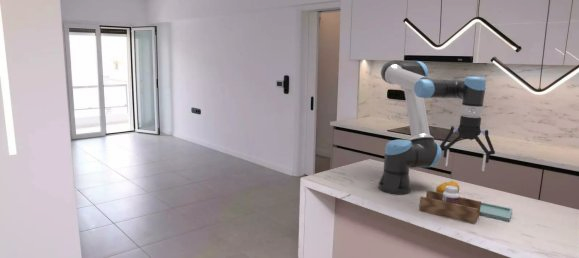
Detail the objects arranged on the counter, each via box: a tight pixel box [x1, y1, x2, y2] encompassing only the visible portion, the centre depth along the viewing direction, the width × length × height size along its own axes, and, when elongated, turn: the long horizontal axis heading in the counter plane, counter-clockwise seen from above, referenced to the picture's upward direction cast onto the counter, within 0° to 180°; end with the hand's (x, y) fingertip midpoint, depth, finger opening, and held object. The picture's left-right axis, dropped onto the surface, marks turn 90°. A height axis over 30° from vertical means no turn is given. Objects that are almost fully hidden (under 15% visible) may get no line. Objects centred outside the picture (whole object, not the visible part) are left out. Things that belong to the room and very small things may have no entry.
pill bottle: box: [442, 186, 460, 204], centre depth 163 cm, size 6×6×11 cm
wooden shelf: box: [418, 189, 482, 225], centre depth 164 cm, size 21×10×6 cm, turn 57°
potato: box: [435, 180, 460, 194], centre depth 182 cm, size 7×14×7 cm, turn 128°
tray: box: [479, 201, 513, 222], centre depth 166 cm, size 13×13×2 cm
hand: (464, 167), depth 163 cm, fingers open, 13 cm apart
